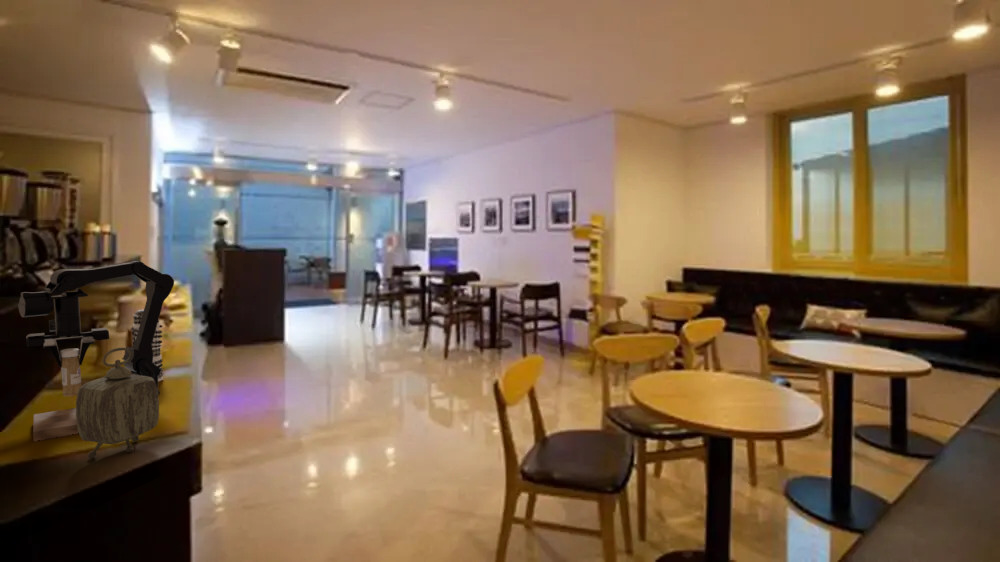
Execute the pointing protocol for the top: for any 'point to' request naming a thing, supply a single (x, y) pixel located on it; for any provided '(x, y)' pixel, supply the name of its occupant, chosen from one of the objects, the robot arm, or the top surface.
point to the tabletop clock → (117, 406)
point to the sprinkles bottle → (70, 371)
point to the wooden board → (55, 424)
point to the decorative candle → (155, 343)
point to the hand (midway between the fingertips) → (70, 366)
